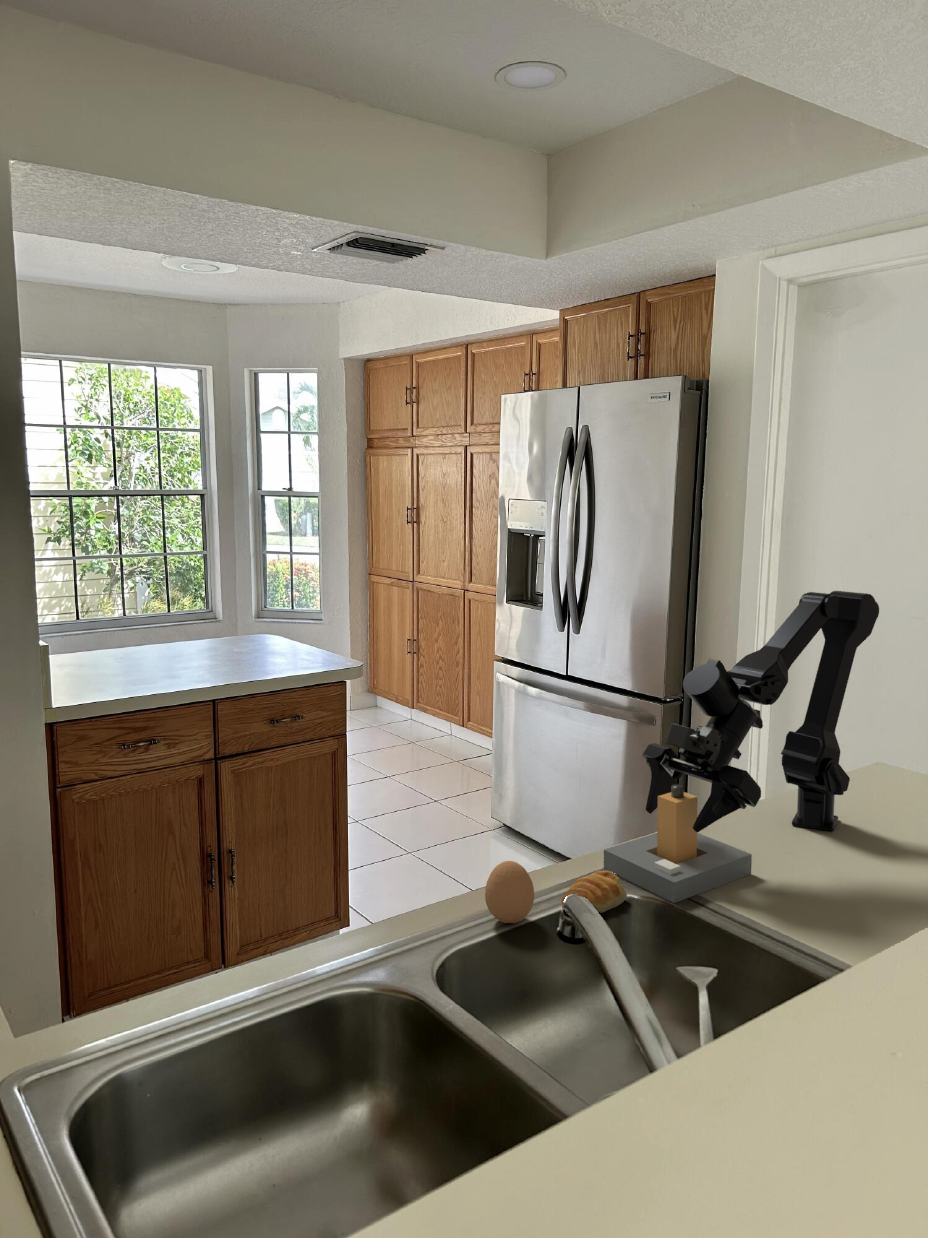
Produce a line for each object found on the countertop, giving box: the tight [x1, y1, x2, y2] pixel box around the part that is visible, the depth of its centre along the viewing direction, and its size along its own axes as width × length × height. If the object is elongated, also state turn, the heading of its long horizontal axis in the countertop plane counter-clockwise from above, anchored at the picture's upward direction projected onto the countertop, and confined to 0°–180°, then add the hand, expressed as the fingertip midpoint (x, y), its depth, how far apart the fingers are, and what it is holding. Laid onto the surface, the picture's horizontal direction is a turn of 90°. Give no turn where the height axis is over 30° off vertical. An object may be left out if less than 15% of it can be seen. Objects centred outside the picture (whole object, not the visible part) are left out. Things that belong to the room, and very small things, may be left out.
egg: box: [484, 860, 535, 924], centre depth 119 cm, size 6×6×8 cm
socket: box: [603, 832, 753, 904], centre depth 133 cm, size 16×14×4 cm
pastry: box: [561, 869, 628, 914], centre depth 124 cm, size 9×7×4 cm
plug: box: [656, 783, 698, 864], centre depth 133 cm, size 4×4×13 cm
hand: (670, 821), depth 132 cm, fingers open, 9 cm apart
